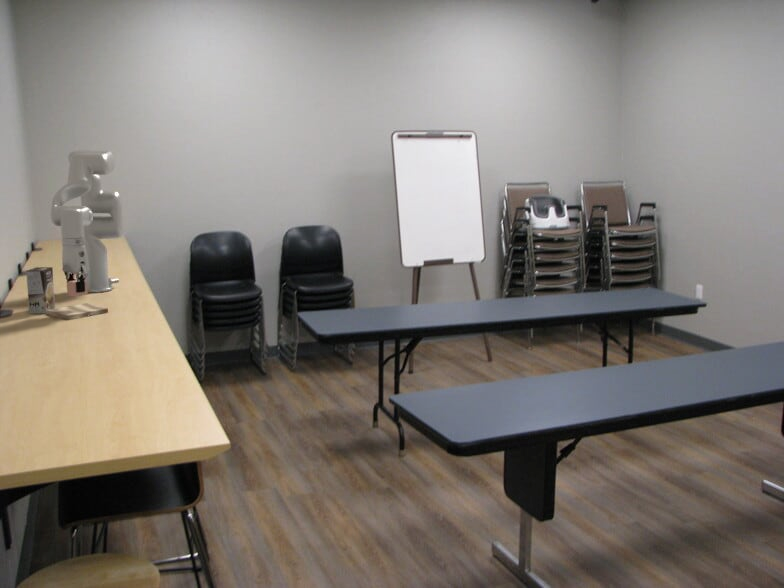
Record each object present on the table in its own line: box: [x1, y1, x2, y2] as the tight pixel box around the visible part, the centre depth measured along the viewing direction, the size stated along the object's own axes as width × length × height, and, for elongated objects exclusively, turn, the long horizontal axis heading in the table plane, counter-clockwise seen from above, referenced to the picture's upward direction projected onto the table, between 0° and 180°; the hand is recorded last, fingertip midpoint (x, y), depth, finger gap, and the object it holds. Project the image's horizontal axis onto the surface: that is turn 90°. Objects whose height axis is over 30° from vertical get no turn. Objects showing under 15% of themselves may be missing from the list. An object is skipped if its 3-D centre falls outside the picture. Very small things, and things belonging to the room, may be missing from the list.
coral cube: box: [66, 279, 89, 297], centre depth 273 cm, size 5×5×5 cm
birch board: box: [46, 302, 109, 321], centre depth 274 cm, size 16×14×2 cm
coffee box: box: [25, 266, 56, 314], centre depth 275 cm, size 9×6×16 cm
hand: (76, 290), depth 272 cm, fingers closed on coral cube, 5 cm apart
